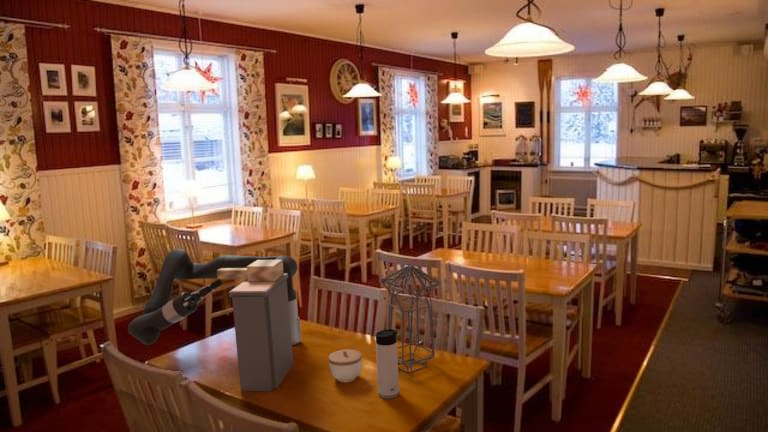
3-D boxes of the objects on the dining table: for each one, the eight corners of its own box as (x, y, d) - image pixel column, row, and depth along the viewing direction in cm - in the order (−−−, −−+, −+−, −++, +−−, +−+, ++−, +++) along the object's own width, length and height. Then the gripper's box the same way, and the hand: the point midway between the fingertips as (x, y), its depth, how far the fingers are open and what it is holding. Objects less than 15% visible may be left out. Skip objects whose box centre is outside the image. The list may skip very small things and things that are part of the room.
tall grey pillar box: (237, 390, 182) (228, 291, 177) (261, 362, 204) (254, 273, 199) (274, 391, 181) (266, 291, 175) (294, 362, 202) (288, 272, 197)
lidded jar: (337, 388, 180) (335, 360, 179) (324, 376, 190) (323, 349, 188) (368, 380, 185) (367, 352, 184) (354, 368, 194) (353, 342, 193)
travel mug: (398, 399, 171) (395, 335, 168) (376, 398, 172) (373, 334, 169) (402, 390, 177) (399, 327, 174) (380, 389, 178) (377, 327, 175)
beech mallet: (213, 281, 191) (212, 266, 190) (225, 274, 200) (224, 260, 199) (274, 281, 187) (273, 266, 187) (283, 274, 196) (282, 259, 195)
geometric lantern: (415, 353, 205) (414, 257, 199) (444, 369, 192) (443, 266, 186) (378, 364, 196) (375, 264, 190) (405, 381, 183) (403, 274, 177)
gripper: (162, 305, 191) (200, 280, 188) (183, 292, 205) (218, 269, 202) (175, 323, 192) (213, 299, 189) (195, 310, 206) (230, 287, 203)
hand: (216, 284), depth 195 cm, fingers open, 8 cm apart
